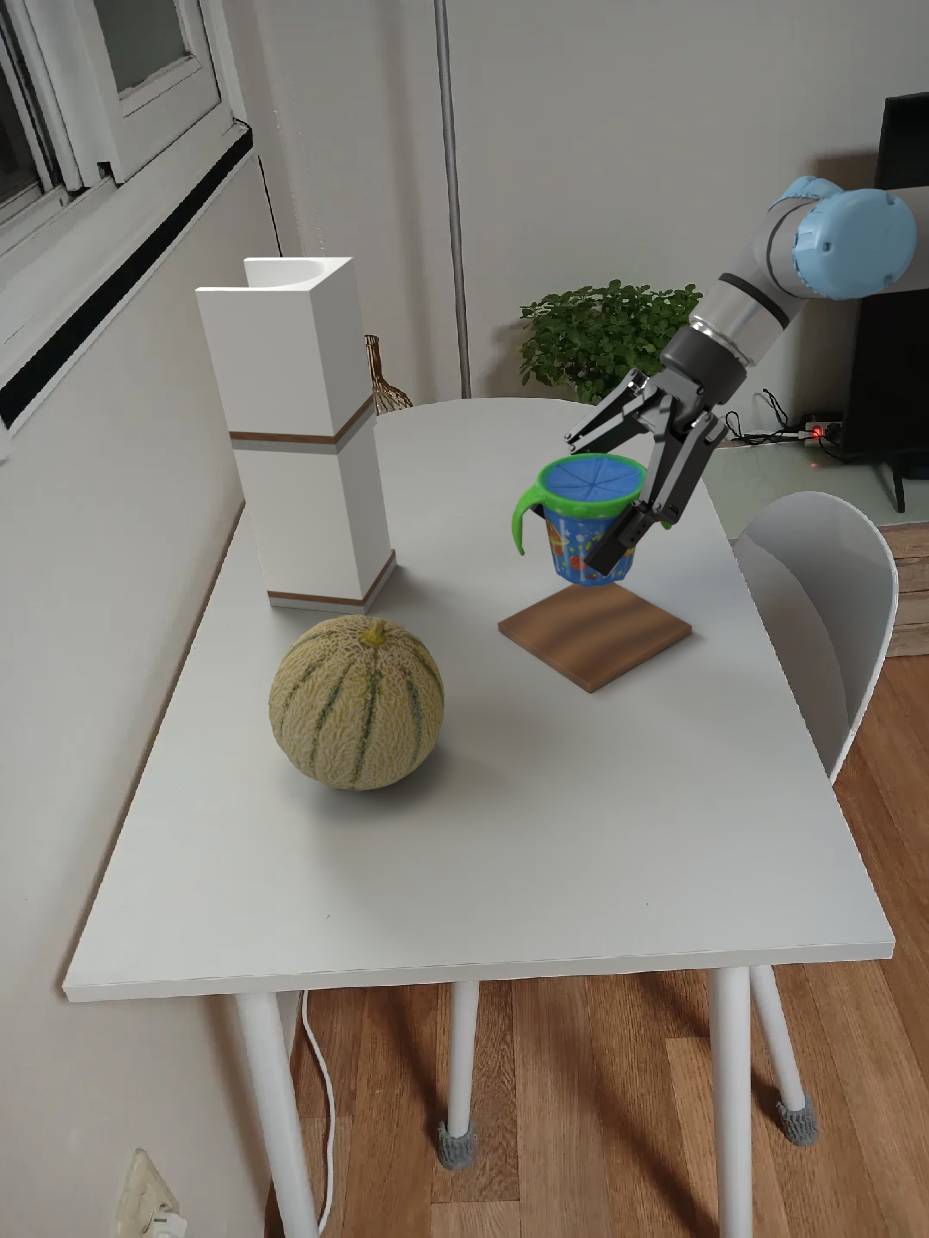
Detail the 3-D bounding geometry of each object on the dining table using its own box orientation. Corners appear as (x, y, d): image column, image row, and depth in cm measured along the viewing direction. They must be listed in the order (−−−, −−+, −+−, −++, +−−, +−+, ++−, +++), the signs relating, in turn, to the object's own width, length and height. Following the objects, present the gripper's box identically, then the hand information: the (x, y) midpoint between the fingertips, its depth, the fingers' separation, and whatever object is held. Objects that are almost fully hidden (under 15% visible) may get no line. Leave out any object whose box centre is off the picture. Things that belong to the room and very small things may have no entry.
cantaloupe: (261, 753, 87) (224, 619, 78) (401, 690, 93) (381, 559, 84) (331, 855, 76) (297, 713, 68) (484, 777, 82) (471, 637, 74)
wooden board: (691, 633, 96) (692, 625, 96) (590, 693, 90) (590, 685, 90) (595, 579, 106) (595, 571, 105) (497, 630, 100) (497, 622, 99)
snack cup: (657, 533, 98) (660, 442, 92) (687, 588, 90) (692, 492, 84) (507, 551, 98) (501, 461, 92) (522, 609, 89) (517, 514, 83)
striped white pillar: (397, 564, 112) (353, 257, 92) (364, 615, 104) (309, 290, 84) (308, 556, 115) (247, 258, 95) (270, 605, 107) (194, 290, 87)
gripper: (823, 412, 79) (653, 617, 84) (672, 334, 97) (539, 508, 102) (776, 363, 75) (600, 583, 79) (627, 292, 92) (490, 475, 97)
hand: (565, 541), depth 91 cm, fingers closed on snack cup, 10 cm apart
